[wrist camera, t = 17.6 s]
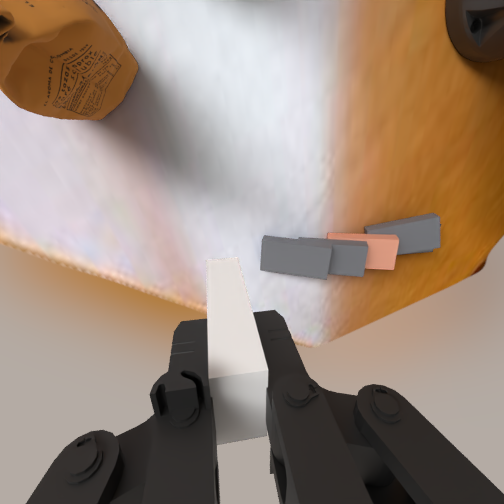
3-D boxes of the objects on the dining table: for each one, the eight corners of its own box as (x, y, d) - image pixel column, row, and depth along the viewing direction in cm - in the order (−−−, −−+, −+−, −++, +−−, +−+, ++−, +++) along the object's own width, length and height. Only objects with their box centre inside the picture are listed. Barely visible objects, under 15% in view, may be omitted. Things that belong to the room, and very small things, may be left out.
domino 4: (364, 226, 43) (433, 212, 40) (367, 254, 45) (434, 242, 42) (367, 231, 41) (439, 216, 39) (370, 259, 43) (440, 247, 41)
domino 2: (298, 237, 42) (366, 241, 40) (297, 265, 44) (361, 270, 42) (297, 242, 40) (368, 246, 38) (296, 271, 42) (363, 276, 40)
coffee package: (49, -52, 25) (-520, -727, 5) (154, 71, 30) (64, -36, 10) (-15, 29, 26) (-639, -257, 7) (95, 133, 32) (-78, 142, 12)
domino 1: (264, 235, 41) (331, 243, 39) (262, 264, 43) (326, 273, 41) (262, 240, 39) (332, 248, 37) (260, 270, 41) (326, 279, 39)
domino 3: (327, 232, 43) (395, 234, 40) (325, 260, 45) (390, 263, 43) (328, 237, 41) (399, 239, 39) (326, 266, 43) (393, 269, 41)
